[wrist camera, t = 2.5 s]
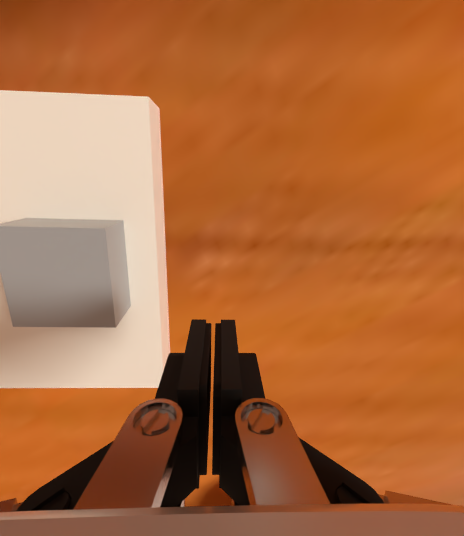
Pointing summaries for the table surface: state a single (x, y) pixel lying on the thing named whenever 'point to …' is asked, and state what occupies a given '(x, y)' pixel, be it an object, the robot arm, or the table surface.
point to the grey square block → (64, 272)
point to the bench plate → (88, 207)
